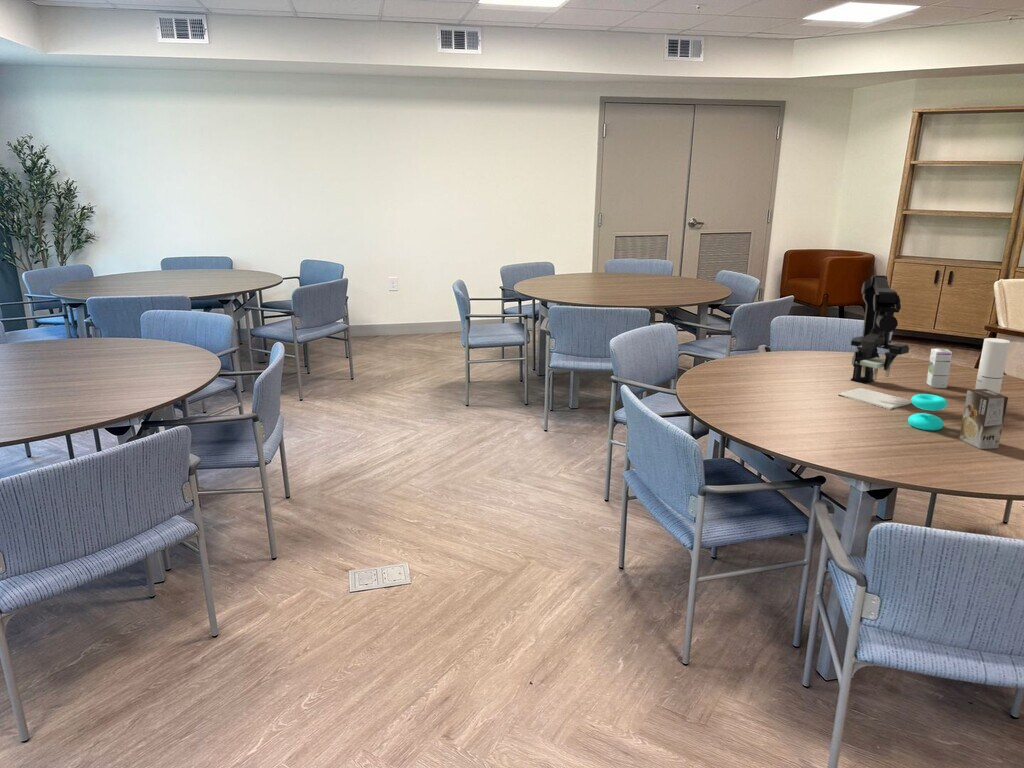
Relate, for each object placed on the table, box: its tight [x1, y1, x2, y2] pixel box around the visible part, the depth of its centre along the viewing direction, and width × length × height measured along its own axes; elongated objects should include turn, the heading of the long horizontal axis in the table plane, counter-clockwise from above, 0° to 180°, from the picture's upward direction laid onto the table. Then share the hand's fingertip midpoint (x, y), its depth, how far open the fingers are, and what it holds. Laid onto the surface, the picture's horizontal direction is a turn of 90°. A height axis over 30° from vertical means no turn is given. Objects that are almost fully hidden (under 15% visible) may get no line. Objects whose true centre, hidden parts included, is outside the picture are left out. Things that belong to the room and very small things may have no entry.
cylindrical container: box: [974, 337, 1011, 394], centre depth 231 cm, size 7×7×25 cm
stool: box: [860, 357, 895, 381], centre depth 246 cm, size 10×6×6 cm, turn 121°
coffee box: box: [959, 388, 1009, 450], centre depth 203 cm, size 9×6×16 cm
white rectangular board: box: [837, 387, 913, 410], centre depth 248 cm, size 20×14×1 cm
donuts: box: [907, 393, 948, 431], centre depth 218 cm, size 10×10×10 cm
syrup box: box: [925, 348, 953, 389], centre depth 261 cm, size 6×6×14 cm
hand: (876, 368), depth 246 cm, fingers closed on stool, 6 cm apart
